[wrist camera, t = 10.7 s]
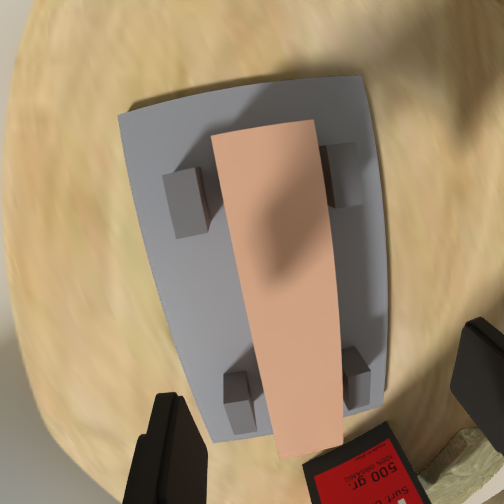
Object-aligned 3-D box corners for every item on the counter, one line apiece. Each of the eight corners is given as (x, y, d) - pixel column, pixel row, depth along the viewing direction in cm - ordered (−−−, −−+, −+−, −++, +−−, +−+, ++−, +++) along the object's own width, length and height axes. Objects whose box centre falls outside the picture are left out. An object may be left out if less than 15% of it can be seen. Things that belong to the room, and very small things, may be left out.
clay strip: (215, 144, 16) (210, 135, 11) (289, 131, 16) (313, 119, 11) (270, 408, 21) (279, 459, 16) (323, 396, 21) (342, 444, 16)
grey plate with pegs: (123, 117, 16) (97, 107, 12) (355, 79, 17) (384, 62, 13) (213, 434, 23) (212, 471, 19) (378, 397, 23) (396, 428, 19)
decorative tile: (456, 492, 35) (464, 505, 31) (376, 509, 31) (383, 527, 28) (524, 417, 30) (535, 429, 27) (459, 423, 27) (474, 441, 24)
